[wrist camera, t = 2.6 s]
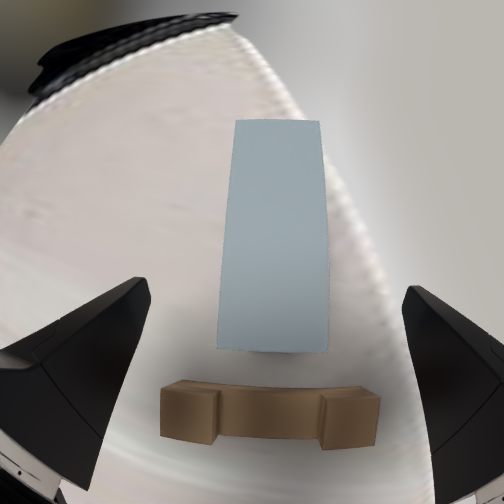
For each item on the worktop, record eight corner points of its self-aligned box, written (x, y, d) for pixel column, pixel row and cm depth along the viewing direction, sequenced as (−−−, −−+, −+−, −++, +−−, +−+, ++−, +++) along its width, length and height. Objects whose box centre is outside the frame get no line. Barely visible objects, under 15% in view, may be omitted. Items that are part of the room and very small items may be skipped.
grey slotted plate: (300, 344, 18) (327, 352, 8) (247, 342, 18) (216, 348, 9) (302, 215, 21) (319, 120, 11) (253, 214, 21) (235, 120, 11)
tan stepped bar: (360, 386, 17) (380, 397, 13) (356, 426, 16) (374, 445, 12) (182, 379, 18) (160, 388, 14) (181, 419, 17) (160, 435, 13)
